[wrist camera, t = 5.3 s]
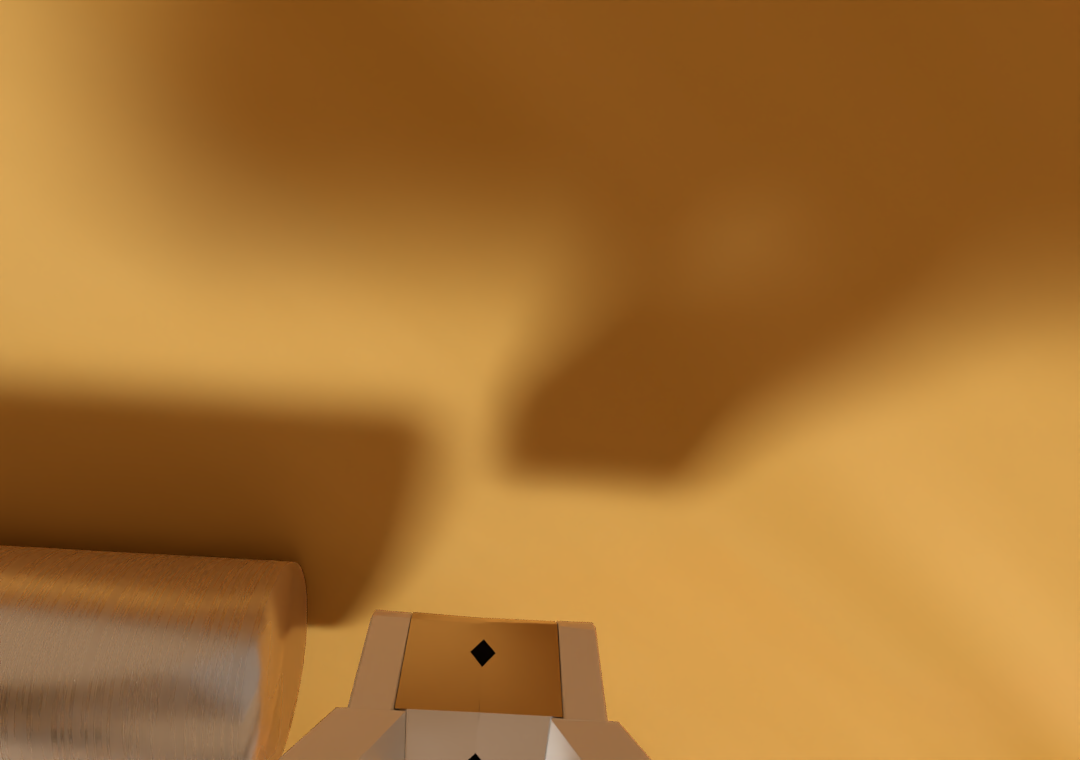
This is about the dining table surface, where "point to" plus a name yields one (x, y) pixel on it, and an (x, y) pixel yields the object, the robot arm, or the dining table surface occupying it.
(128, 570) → the tube
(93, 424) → the dining table surface
